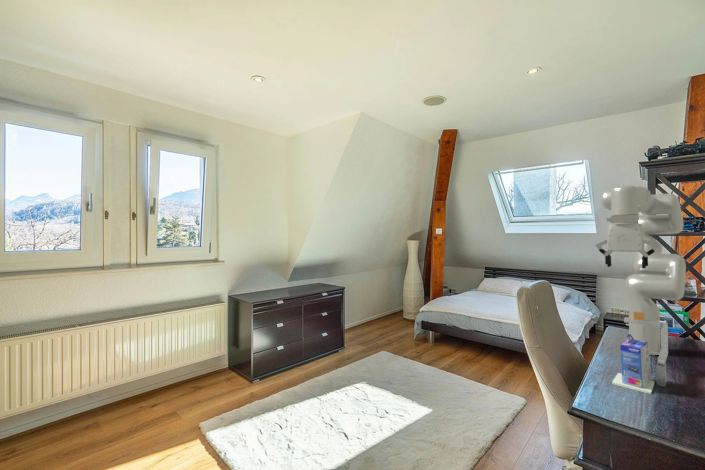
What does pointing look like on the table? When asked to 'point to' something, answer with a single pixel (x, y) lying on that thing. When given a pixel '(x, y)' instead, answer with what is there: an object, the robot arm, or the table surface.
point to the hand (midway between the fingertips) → (626, 267)
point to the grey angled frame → (640, 319)
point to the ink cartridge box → (635, 362)
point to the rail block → (661, 374)
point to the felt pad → (618, 382)
